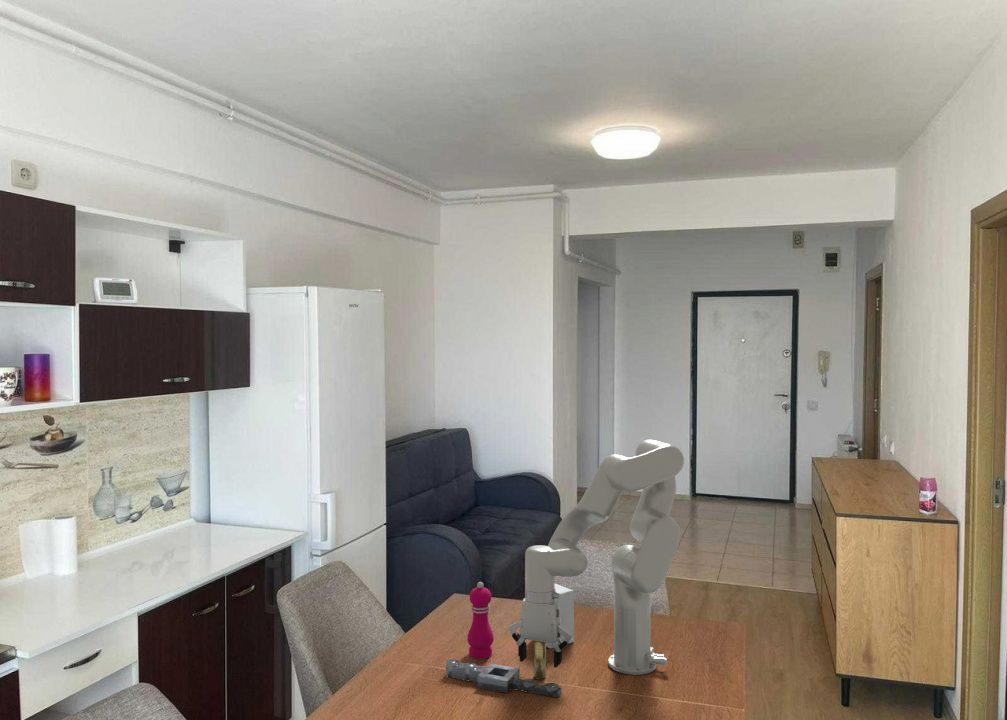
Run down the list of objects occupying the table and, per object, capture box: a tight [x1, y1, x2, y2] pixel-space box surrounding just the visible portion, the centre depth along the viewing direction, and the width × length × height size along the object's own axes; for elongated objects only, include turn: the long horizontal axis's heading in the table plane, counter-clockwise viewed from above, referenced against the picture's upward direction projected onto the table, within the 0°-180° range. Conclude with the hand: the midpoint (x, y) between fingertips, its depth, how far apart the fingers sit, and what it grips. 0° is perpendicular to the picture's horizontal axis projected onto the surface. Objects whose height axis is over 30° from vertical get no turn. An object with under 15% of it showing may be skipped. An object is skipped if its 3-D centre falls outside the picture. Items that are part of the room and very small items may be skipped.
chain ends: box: [445, 658, 562, 699], centre depth 194 cm, size 31×8×4 cm, turn 67°
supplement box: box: [546, 583, 575, 649], centre depth 222 cm, size 9×9×15 cm
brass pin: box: [533, 640, 547, 680], centre depth 198 cm, size 3×3×10 cm
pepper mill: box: [466, 581, 495, 660], centre depth 212 cm, size 7×7×20 cm
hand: (540, 662), depth 198 cm, fingers open, 8 cm apart
